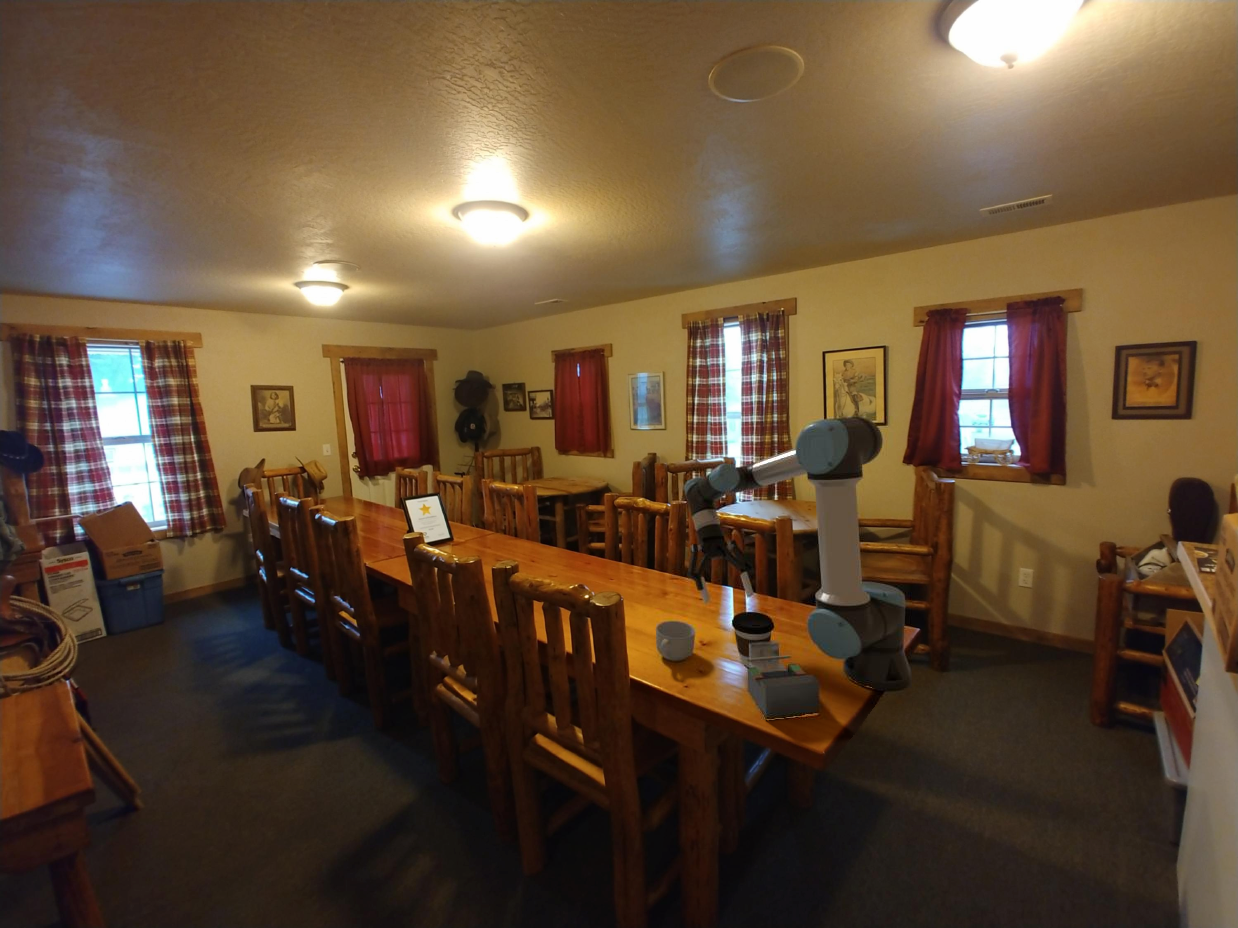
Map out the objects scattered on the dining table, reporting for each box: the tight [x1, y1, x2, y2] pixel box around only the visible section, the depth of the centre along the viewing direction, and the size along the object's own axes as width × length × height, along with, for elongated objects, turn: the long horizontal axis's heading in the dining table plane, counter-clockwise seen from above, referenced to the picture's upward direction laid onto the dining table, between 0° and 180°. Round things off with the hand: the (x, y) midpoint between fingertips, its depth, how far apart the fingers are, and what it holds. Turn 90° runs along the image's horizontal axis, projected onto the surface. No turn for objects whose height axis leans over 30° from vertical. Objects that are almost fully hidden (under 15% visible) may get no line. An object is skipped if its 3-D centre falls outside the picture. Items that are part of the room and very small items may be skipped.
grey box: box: [747, 663, 820, 720], centre depth 117 cm, size 12×12×8 cm
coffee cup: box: [731, 611, 775, 668], centre depth 136 cm, size 11×11×12 cm
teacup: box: [655, 620, 696, 662], centre depth 140 cm, size 14×11×8 cm
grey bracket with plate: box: [746, 640, 792, 679], centre depth 125 cm, size 6×11×8 cm, turn 95°
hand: (729, 598), depth 141 cm, fingers open, 13 cm apart
